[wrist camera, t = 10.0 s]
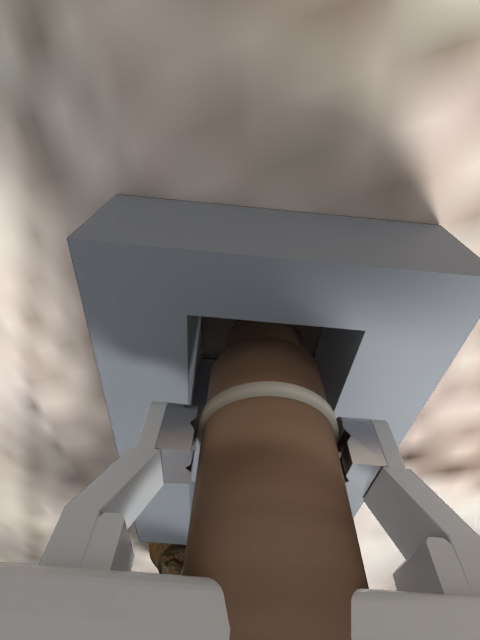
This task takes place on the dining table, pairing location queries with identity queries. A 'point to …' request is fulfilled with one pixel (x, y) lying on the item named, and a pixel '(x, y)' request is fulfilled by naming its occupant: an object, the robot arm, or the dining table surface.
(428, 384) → the two-hole board
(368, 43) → the dining table surface
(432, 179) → the dining table surface
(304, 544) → the walnut peg
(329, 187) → the dining table surface
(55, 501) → the dining table surface
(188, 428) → the robot arm
